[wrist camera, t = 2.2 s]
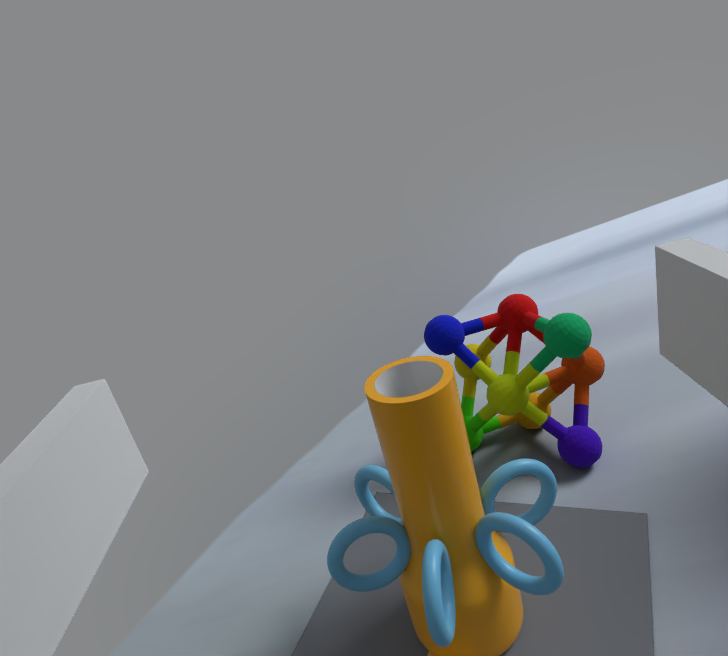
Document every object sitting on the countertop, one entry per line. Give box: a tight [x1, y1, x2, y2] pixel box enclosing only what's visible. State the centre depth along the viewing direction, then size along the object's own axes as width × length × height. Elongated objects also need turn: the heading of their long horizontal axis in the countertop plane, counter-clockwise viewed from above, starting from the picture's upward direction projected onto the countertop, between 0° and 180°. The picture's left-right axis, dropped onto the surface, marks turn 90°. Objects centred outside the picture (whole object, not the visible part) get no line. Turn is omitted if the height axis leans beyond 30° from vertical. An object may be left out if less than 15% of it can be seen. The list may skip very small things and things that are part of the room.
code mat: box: [292, 492, 654, 656], centre depth 30 cm, size 18×18×1 cm
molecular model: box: [424, 294, 605, 467], centre depth 41 cm, size 12×7×12 cm, turn 59°
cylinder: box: [327, 356, 564, 656], centre depth 28 cm, size 12×10×15 cm
